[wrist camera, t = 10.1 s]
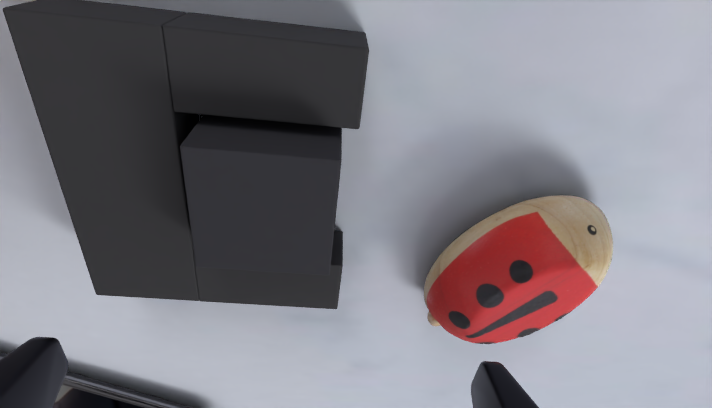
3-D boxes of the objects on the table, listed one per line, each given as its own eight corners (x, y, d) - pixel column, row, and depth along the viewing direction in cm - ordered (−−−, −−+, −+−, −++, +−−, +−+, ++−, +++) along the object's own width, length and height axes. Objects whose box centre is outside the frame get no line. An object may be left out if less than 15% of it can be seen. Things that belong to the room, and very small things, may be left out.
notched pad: (366, 32, 15) (369, 48, 13) (337, 273, 22) (337, 309, 20) (51, -4, 14) (0, 7, 12) (120, 259, 21) (95, 295, 19)
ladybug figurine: (622, 237, 21) (669, 288, 18) (465, 332, 25) (482, 387, 22) (554, 154, 18) (595, 198, 15) (389, 275, 22) (396, 329, 19)
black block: (341, 115, 17) (341, 160, 14) (331, 217, 20) (329, 276, 16) (212, 102, 16) (179, 146, 13) (221, 209, 19) (195, 267, 16)
